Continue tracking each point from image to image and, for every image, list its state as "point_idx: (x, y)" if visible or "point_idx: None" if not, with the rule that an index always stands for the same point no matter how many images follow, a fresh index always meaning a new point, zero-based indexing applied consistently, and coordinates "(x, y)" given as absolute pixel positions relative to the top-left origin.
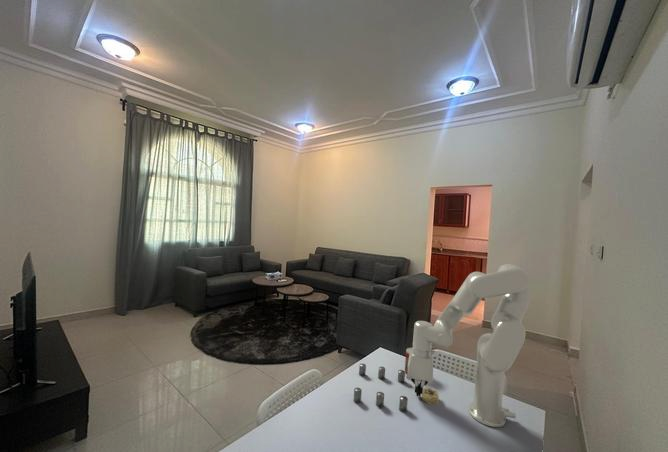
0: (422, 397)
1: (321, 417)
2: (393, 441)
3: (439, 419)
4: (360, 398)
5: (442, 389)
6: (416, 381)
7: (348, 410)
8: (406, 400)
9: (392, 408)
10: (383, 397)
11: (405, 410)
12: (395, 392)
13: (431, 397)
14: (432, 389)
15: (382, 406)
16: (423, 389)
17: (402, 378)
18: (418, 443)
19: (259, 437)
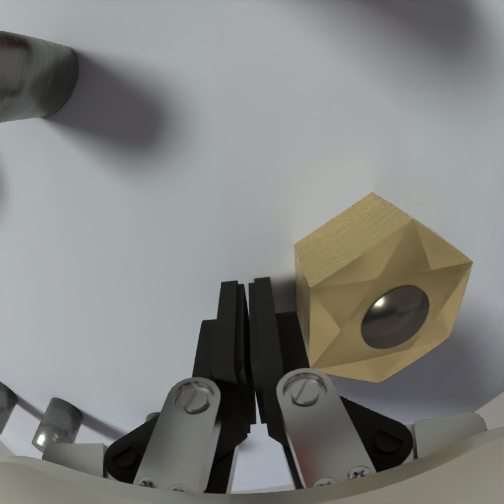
0: (296, 286)
1: (18, 436)
2: None
3: None
4: (11, 411)
5: (486, 73)
6: (211, 492)
7: (28, 424)
8: None
9: (120, 421)
10: None
11: None
12: (58, 298)
13: (377, 381)
14: (438, 248)
15: (81, 421)
16: (321, 303)
17: (23, 111)
18: (257, 486)
19: (15, 452)
